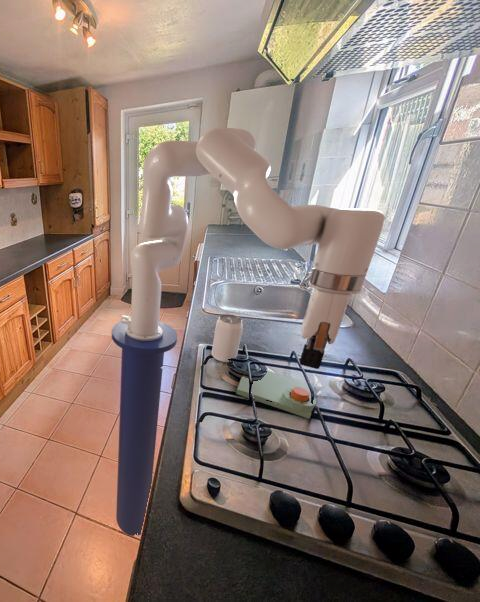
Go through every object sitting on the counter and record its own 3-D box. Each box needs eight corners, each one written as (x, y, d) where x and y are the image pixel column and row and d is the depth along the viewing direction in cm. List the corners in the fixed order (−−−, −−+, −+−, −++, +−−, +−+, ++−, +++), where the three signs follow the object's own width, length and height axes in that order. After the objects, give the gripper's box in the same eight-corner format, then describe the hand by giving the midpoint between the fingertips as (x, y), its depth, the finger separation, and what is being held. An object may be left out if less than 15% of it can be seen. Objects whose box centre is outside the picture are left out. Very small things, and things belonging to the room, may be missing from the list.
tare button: (290, 398, 64) (292, 392, 64) (291, 391, 67) (292, 384, 66) (307, 404, 63) (309, 397, 62) (307, 396, 65) (309, 390, 64)
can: (240, 356, 85) (247, 318, 80) (230, 366, 80) (238, 326, 76) (217, 348, 89) (223, 311, 84) (207, 357, 85) (213, 318, 80)
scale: (235, 395, 70) (237, 384, 69) (245, 369, 79) (247, 359, 78) (312, 421, 62) (316, 409, 61) (313, 389, 71) (316, 378, 70)
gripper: (310, 267, 62) (289, 344, 69) (309, 287, 51) (284, 377, 58) (358, 272, 58) (331, 354, 65) (368, 296, 47) (333, 391, 54)
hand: (309, 364), depth 62 cm, fingers closed
